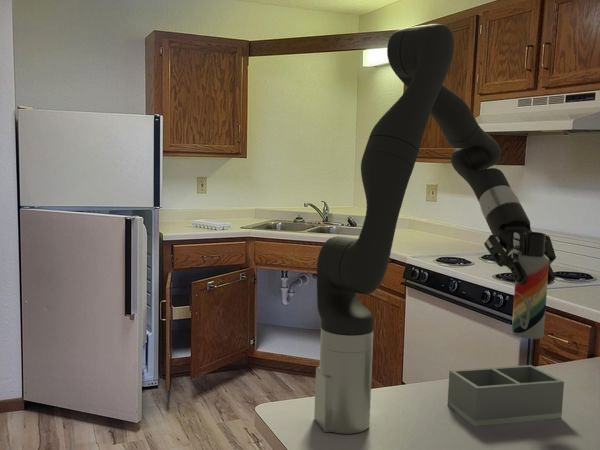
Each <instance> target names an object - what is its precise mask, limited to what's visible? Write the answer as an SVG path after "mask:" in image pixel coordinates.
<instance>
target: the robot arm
mask: <svg viewBox="0 0 600 450" xmlns="http://www.w3.org/2000/svg"><path fill="white" fill-rule="evenodd" d="M454 49H455V41H454V35H453V31H452V30H451V29H450V28H449V27H448V26H447V25H445V24H443V23H442V24H441V23H429V24H423V25H416V26H408V27H403V28H400V29H398V30H396V31H394V32H393V33H392V34H391V35H390V37H389V39H388V43H387V49H386V55H387V60H388V63H389V65H390V67H391V69H392V71H393V73H394V74H395V75H396V77H398V79H399V80H400V82H402V83H403V84H404V85H405V87H406V89H405V91H404V92H403V93H402V95H401V96H400V97H399V98H398V99H397V100H396V101H395V103H393V105H392V106H390V107H389V109H387V111H386V112H385V113H384V114H383V115H382V116H381V117H380V119H378V121H377V122H376V124H375V125H374V127H373V128H371V129H372V130H371V132H370V134H369V136H368V139H367V143H366V146H365V148H364V152H363V154H362V157H361V162H360V175H361V182H362V185H363V191H364V193H365V194H364V195H365V201H366V209H365V210H366V212H365V216H364V221H363V225H362V227H361V229H360V234H359V235H358V238H355V237H350V236H349V237H348V236H339V235H338V236H333V237H330V238H328V239H327V240H326V241H324V243H323V244H322V246H321V248H320V250H319V253H318V258H317V262H316V263H317V264H316V298H317V299H316V301H317V302H316V305H317V312H318V315H319V318H320V344H319V346H320V347H319V350H320V351H319V366H317V367H316V368H315V383H314V384H315V389H314V413H313V414H314V420H315V421H316V423H317V424H318V425H319V427H320V428H321V430H322V431H323V432H325V433H326V432H328V433H329V432H332V433H337V434H345V435H346V434H349V435H350V434H357V433H358V434H359V433H362V432H364V431H366V430H367V429H368V428H369V426H370V422H371V421H370V420H371V400H372V399H371V397H372V396H371V394H372V376H373V375H372V373H373V353H374V352H373V349H374V329H375V327H374V326H375V325H374V324H375V317H374V314H373V313H372V312H371V311H370V310H369V309H368V308H367V307H366V306H365V305H363V304H362V302H361V300H360V299H359V298H358V295H357V294H359V295H370V294H372V293H373V292H375V291H376V290H377V289H379V287H380V285H381V284H382V282H383V280H384V278H385V275H386V272H387V269H388V267H389V261H390V257H391V254H392V253H391V252H392V248H393V242H394V238H395V233H396V228H397V223H398V219H399V215H400V212H401V208H402V205H403V201H404V197H405V194H406V190H407V187H408V184H409V181H410V179H411V176H412V173H413V170H414V168H415V164H416V162H417V157H418V154H419V151H420V147H421V145H422V142H423V141H422V140H423V137H424V134H425V131H426V127H427V124H428V122H429V119H430V116H432V118H433V119H434V120H435V122H436V124H437V125H438V127H439V129H440V131H441V132H442V134H443V135H444V137H445V139H446V141H447V143H448V144H449V145H450V146H451V147H452V148H454V150H453V151H452V154H451V155H450V162H451V166H452V167H453V169H454V170H455V172H456V173H457V174H458V175H459V176H460V177H462V178H463V180H464V181H466V182H467V184H468V185H469V186H470V187H471V189H472V191H473V192H474V195H475V197H476V199H477V201H478V203H479V206H480V210H481V213H482V215H483V218H484V219H485V221H486V223H487V225H488V226H487V227H488V228H489V230H490V233H491V234H490V235H489V236H488V237H487V239H486V240H485V242H484V246H485V248H486V249H487V251H488V252H489V254H490V255H491V257H492V258H493V260H494V261H495V263H496V264H497V265H498V266H499V267H507V269H508V270H510V272H511V274H512V276H513V278H514V281H515V280H516V281H517V282H518V284H519V285H524V284H525V283H526V282H527V280H528V277H527V275H526V273H525V271H524V269H523V268H522V266H521V264H520V263H518V262H519V259H518V257H519V255H524V254H522V248H523V236H524V232H533V231H532V229H531V221H530V219H529V217H528V215H527V212H526V211H525V209H524V208H523V206H522V203H521V202H520V200H519V198H518V196H517V195H516V193H515V192H514V191H513V189H512V187H511V184H509V182H508V179H507V177H506V176H505V174H504V172H503V171H501V169H499V168H495V167H494V166H495V165H497V164H498V163H499V162H500V160H501V158H502V149H501V147H500V145H499V143H498V142H497V141H496V140H495V139H494V138H493V137H492V136H491V135H490V134H488V133H487V132H486V131H485V130H484V129H482V127H481V126H480V125H479V123H478V122H477V119H476V117H475V116H474V114H473V112H472V110H471V108H470V106H469V105H468V104H467V102H466V101H464V99H463V98H462V97H460V95H458V94H457V93H455V91H453V90H451V89H450V88H448V87H447V86H446V85H444V82H445V79H446V77H447V75H448V72H449V69H450V67H451V64H452V60H453V55H454V51H455V50H454ZM544 257H547V258H548V259H549V268H548V282H547V285H551V284H552V283H553V282H554V281H555V279H556V274H555V272H554V270H553V269H552V266H551V264H553V262H554V261H555V260H556V259H557V256H556V253H555V249H554V247H553V243H552V240H551V237H550V235H547V234H545V252H544Z"/></svg>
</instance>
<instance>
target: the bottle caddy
mask: <svg viewBox="0 0 600 450" xmlns="http://www.w3.org/2000/svg"><path fill="white" fill-rule="evenodd" d="M564 387H565V381H563V380H562V379H560V378H557V377H556V376H553V375H552V374H550V373H548V372H545V371H544V370H541V369H540V368H538V367H536V366H534V365H532V364H527V365H514V366H513V365H512V366H511V365H509V366H499V367H497V366H496V367H484V368H483V367H482V368H468V369H451V370H449V373H448V392H447V407H449V408H450V409H451V410H453V411H454V412H456V414H458V415H459V416H460V417H461V418H463V419H465V421H467V422H468V423H469V424H471V425H472V426H473V427H481V426H493V425H502V424H512V423H522V422H523V423H524V422H532V421H534V422H535V421H542V420H545V421H546V420H553V419H554V420H555V419H562V415H563V414H562V412H563V402H564V401H563V400H564Z"/></svg>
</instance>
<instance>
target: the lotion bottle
mask: <svg viewBox="0 0 600 450" xmlns="http://www.w3.org/2000/svg"><path fill="white" fill-rule="evenodd" d="M545 235H546V233H543V232H538V231H532V232H524V236H523V248H522V254H524V255H519V257H518V259H519V262H518V263H520V264H521V266H522V268H523V269H524V271H525V273H526V275H527V277H528V280H527V282H526V283H525V284H524V285H519V284H518V282H517V281H516V280H515V279H514V293H513V308H512V323H511V334H512V335H514V336H516V337H518V338H522V339H528V340H529V339H530V340H537V339H538V340H539V339H543V338H544V333H545V332H544V331H545V320H546V319H545V318H546V305H547V295H548V294H547V293H548V284H547V282H548V268H549V259H548V258H547V257H544V252H545Z"/></svg>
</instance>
